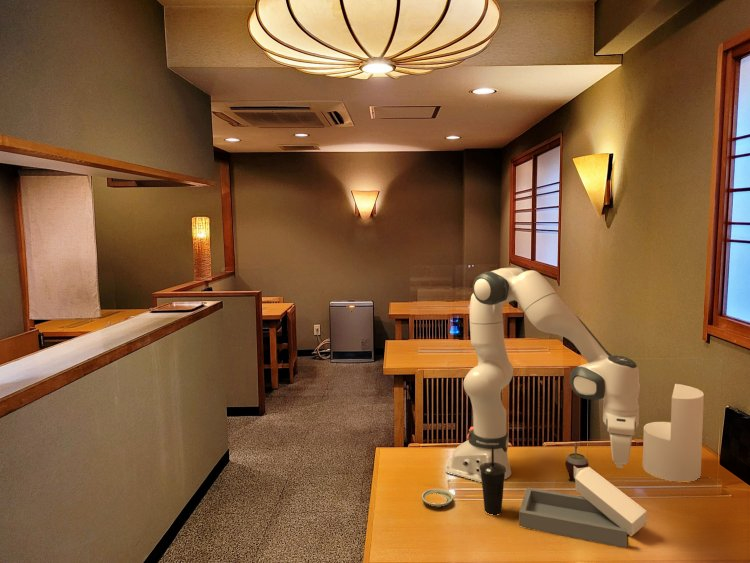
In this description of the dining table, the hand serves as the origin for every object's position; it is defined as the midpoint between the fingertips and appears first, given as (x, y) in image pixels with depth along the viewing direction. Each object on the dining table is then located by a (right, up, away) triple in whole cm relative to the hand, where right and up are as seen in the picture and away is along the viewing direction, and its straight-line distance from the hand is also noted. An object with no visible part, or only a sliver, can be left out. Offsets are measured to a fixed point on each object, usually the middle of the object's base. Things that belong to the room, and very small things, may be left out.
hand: (619, 465), depth 145 cm
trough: (-10, -19, +6) cm, 22 cm away
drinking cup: (-31, -19, +14) cm, 39 cm away
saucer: (-47, -19, +20) cm, 55 cm away
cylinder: (+34, -14, +36) cm, 52 cm away
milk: (+5, -15, -2) cm, 16 cm away
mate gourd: (0, -16, +31) cm, 35 cm away
